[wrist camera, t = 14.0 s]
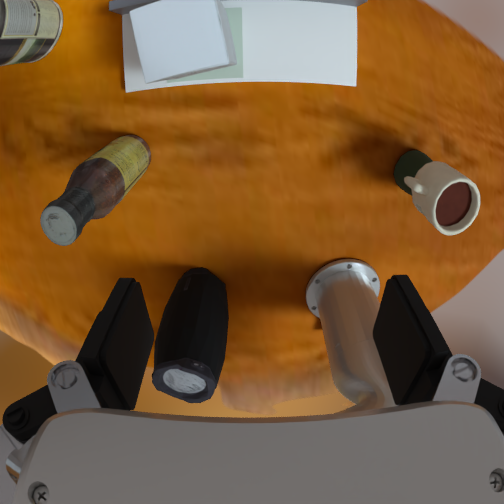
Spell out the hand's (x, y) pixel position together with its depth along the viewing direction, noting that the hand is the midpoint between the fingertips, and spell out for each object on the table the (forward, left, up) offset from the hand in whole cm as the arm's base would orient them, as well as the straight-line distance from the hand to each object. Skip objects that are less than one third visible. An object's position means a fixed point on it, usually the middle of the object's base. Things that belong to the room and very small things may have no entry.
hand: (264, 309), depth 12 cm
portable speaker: (-24, +9, -32) cm, 41 cm away
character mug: (-4, -22, -32) cm, 39 cm away
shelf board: (+13, +2, -32) cm, 35 cm away
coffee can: (+20, +31, -32) cm, 49 cm away
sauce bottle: (-2, +17, -32) cm, 37 cm away
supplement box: (+12, +6, -30) cm, 33 cm away
